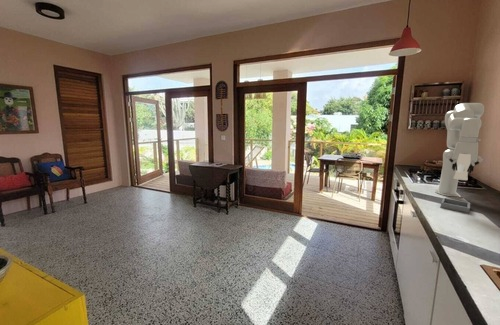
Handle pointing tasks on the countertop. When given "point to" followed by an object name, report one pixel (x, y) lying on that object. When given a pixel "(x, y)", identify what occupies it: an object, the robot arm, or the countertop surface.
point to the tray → (455, 205)
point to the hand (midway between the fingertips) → (461, 171)
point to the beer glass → (462, 166)
